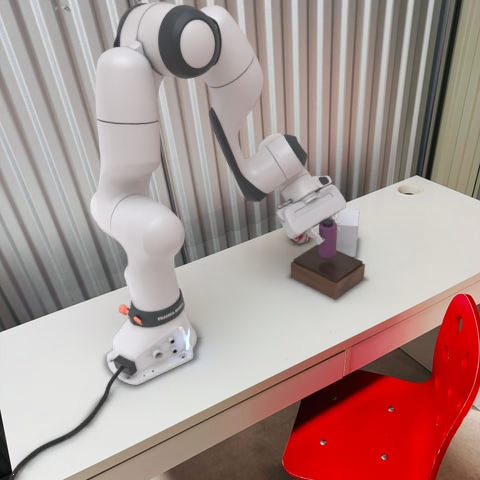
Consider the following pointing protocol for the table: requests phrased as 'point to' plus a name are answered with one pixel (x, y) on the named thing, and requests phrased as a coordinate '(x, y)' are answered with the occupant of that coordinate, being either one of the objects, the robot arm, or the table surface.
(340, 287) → the flat rectangular box
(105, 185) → the robot arm
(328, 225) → the lotion bottle
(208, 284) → the table surface
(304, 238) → the soda can
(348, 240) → the cosmetics box
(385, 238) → the table surface
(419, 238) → the table surface
